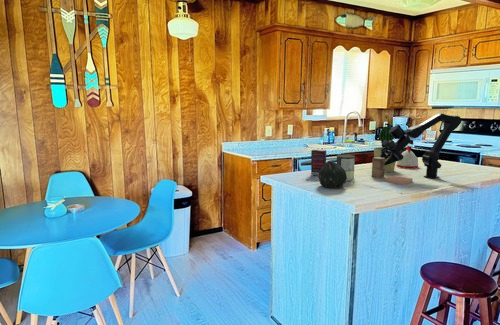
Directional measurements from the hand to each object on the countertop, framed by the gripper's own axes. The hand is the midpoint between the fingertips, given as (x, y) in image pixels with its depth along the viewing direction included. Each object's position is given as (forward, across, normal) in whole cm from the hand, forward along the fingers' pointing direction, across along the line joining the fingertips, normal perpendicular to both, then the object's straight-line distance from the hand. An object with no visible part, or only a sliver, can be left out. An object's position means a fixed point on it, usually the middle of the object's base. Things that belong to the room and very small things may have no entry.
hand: (381, 163), depth 202 cm
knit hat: (-19, -37, +32) cm, 53 cm away
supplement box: (+30, -14, -17) cm, 38 cm away
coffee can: (+22, 0, -8) cm, 23 cm away
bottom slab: (+4, +14, +10) cm, 18 cm away
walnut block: (+8, 0, +6) cm, 9 cm away
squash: (+31, +17, -17) cm, 40 cm away
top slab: (+3, +14, +8) cm, 17 cm away
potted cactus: (-4, -25, +17) cm, 30 cm away
